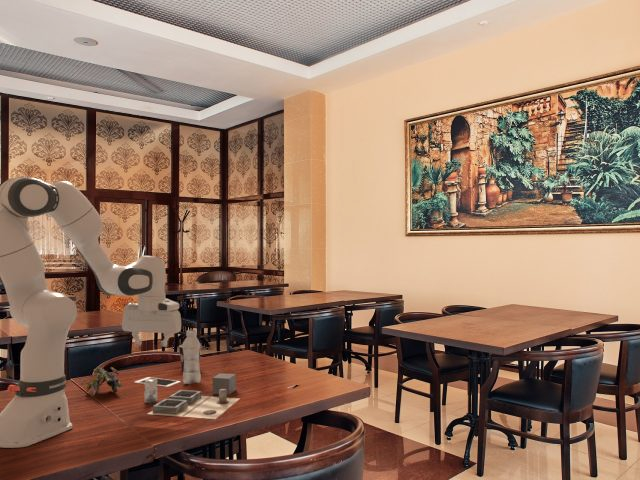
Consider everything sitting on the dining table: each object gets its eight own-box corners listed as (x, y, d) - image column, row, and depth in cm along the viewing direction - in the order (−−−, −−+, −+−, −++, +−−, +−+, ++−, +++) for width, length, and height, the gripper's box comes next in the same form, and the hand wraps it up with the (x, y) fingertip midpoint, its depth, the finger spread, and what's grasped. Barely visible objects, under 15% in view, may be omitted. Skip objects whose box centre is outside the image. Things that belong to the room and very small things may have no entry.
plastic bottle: (196, 386, 187) (196, 332, 187) (179, 385, 188) (179, 331, 188) (203, 382, 193) (203, 329, 193) (187, 381, 195) (187, 329, 195)
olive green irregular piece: (113, 407, 181) (130, 381, 179) (85, 409, 172) (103, 382, 170) (100, 384, 187) (117, 359, 185) (73, 386, 178) (89, 359, 176)
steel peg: (153, 403, 168) (153, 382, 168) (142, 402, 168) (142, 381, 169) (159, 399, 172) (159, 379, 172) (148, 399, 172) (148, 378, 172)
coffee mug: (178, 367, 216) (178, 344, 216) (199, 366, 218) (199, 343, 218) (179, 374, 205) (179, 349, 205) (201, 373, 207) (201, 348, 207)
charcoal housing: (229, 399, 172) (229, 378, 172) (212, 398, 173) (212, 377, 173) (235, 394, 178) (235, 374, 178) (219, 393, 179) (219, 373, 179)
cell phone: (147, 378, 200) (147, 376, 200) (181, 382, 194) (181, 381, 194) (133, 383, 193) (133, 381, 193) (168, 388, 187) (168, 386, 187)
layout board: (215, 424, 148) (215, 405, 148) (147, 418, 153) (147, 400, 153) (240, 403, 168) (240, 386, 168) (178, 399, 172) (178, 382, 172)
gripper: (118, 304, 169) (117, 345, 169) (174, 306, 165) (173, 348, 165) (129, 302, 175) (128, 342, 175) (183, 304, 171) (183, 345, 171)
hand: (151, 345), depth 170 cm, fingers open, 8 cm apart
